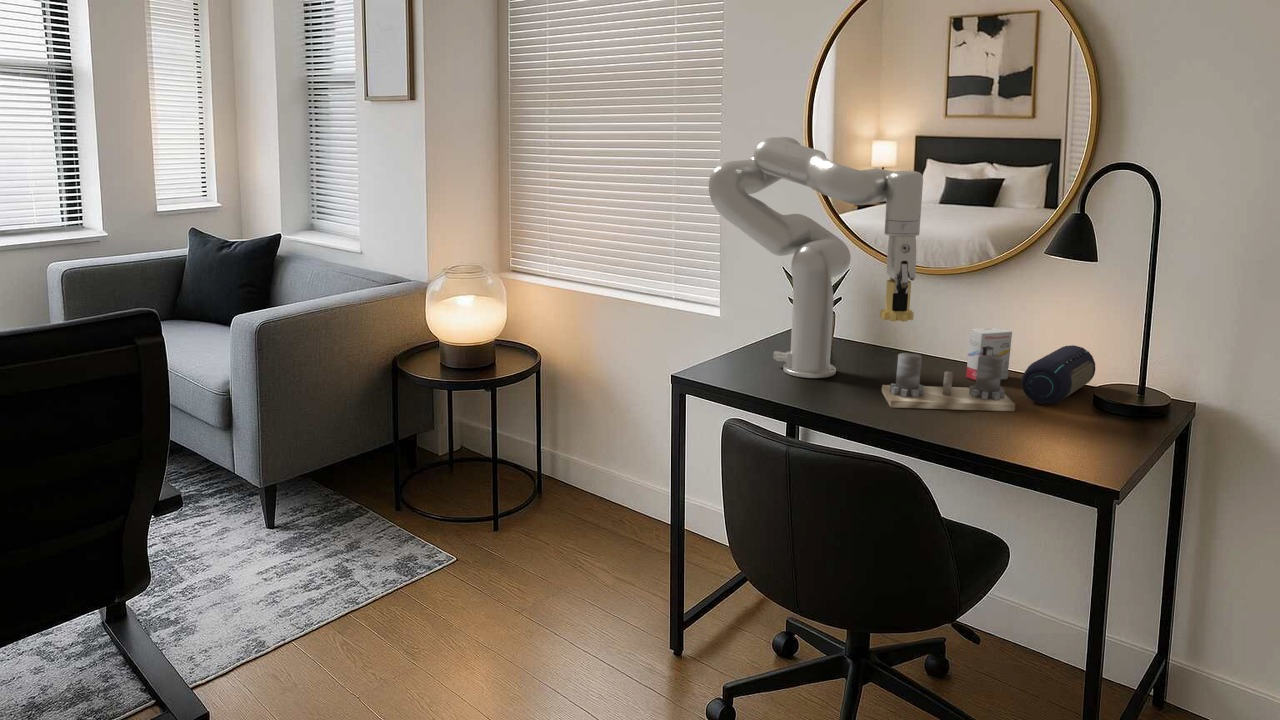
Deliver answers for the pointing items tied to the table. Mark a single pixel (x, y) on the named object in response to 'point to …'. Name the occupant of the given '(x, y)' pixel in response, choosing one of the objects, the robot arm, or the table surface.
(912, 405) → the board
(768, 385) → the table surface
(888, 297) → the gear
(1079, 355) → the portable speaker
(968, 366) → the ink box
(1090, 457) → the table surface
